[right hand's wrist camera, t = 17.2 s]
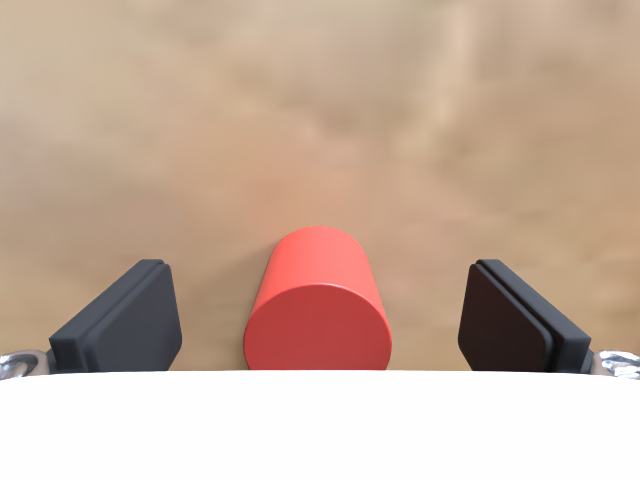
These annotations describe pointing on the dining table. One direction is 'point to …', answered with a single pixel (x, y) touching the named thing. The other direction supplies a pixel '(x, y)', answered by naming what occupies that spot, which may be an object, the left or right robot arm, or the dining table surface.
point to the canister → (317, 308)
